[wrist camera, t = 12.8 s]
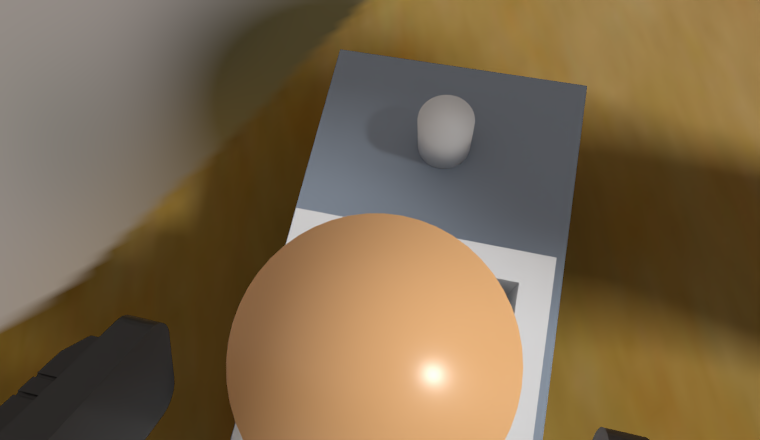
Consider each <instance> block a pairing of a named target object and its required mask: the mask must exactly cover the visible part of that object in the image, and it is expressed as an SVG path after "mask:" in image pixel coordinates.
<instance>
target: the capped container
mask: <svg viewBox="0 0 760 440" xmlns="http://www.w3.org/2000/svg"><path fill="white" fill-rule="evenodd" d="M522 377H523V354H522V344H521V338H520V333H519V328H518V324H517V321H516V318H515V315H514V312H513V309H512V306H511V304H510V302H509V300H508V298H507V296H506V294H505V292H504V290H503V288H502V286H501V285H500V283H499V282H498V280H497V279H496V277H495V275H494V274H493V273H492V271H491V270H490V269H489V268H488V267H487V265H486V264H485V263H484V262H483V261H482V259H481V258H480V257H478V256H477V255H476V254H475V253H474V252H473V251H472V250H471V249H470V248H469V247H468V246H466V245H465V244H464V243H462V242H461V241H460V240H458V239H457V238H455V237H454V236H453V235H451V234H449V233H447V232H445V231H444V230H442V229H440V228H438V227H436V226H434V225H431V224H428V223H426V222H423V221H421V220H418V219H414V218H410V217H406V216H401V215H393V214H385V213H366V214H358V215H350V216H346V217H342V218H338V219H334V220H330V221H328V222H325V223H323V224H320V225H318V226H315V227H313V228H311V229H309V230H308V231H306V232H304V233H302V234H300V235H298V236H297V237H296V238H294V239H293V240H291V241H290V242H289V243H287V244H286V245H284V246H283V247H282V248H281V249H280V250H279V251H278V252H277V253H276V254H274V255H273V256H272V257H271V258H270V259H269V260H268V261H267V263H266V264H265V265H264V266H263V267H262V268H261V270H260V271H259V272H258V273H257V275H256V276H255V278H254V279H253V281H252V282H251V284H250V285H249V287H248V288H247V290H246V292H245V294H244V296H243V298H242V300H241V302H240V304H239V307H238V309H237V312H236V315H235V318H234V320H233V323H232V327H231V332H230V336H229V340H228V348H227V358H226V381H227V388H228V395H229V402H230V405H231V409H232V412H233V416H234V420H235V422H236V425H237V427H238V429H239V432H240V434H241V436H242V439H243V440H505V438H506V436H507V434H508V433H509V431H510V429H511V426H512V423H513V420H514V417H515V414H516V411H517V408H518V404H519V399H520V394H521V389H522Z"/></svg>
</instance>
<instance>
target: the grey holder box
mask: <svg viewBox="0 0 760 440" xmlns="http://www.w3.org/2000/svg"><path fill="white" fill-rule="evenodd" d="M586 90H587V86H584V85H577V84H570V83H563V82H557V81H550V80H543V79H536V78H530V77H523V76H516V75H509V74H503V73H496V72H489V71H482V70H476V69H469V68H462V67H455V66H449V65H442V64H435V63H428V62H422V61H415V60H408V59H401V58H395V57H388V56H381V55H374V54H368V53H361V52H354V51H347V50H341V49H340V52H339V56H338V59H337V63H336V66H335V70H334V74H333V77H332V81H331V84H330V88H329V91H328V95H327V98H326V102H325V106H324V109H323V113H322V116H321V120H320V123H319V127H318V130H317V134H316V137H315V141H314V145H313V148H312V152H311V155H310V159H309V162H308V166H307V169H306V173H305V177H304V180H303V184H302V187H301V191H300V194H299V198H298V201H297V205H296V209H295V212H294V216H293V219H292V223H291V226H290V230H289V233H288V237H287V241H286V244H287V243H289V242H290V241H291V240H293V239H294V238H296V237H297V236H298V235H300V234H302V233H304V232H306V231H308V230H309V229H311V228H313V227H315V226H318V225H320V224H323V223H325V222H328V221H330V220H334V219H338V218H342V217H346V216H350V215H358V214H366V213H385V214H393V215H401V216H406V217H410V218H414V219H418V220H421V221H423V222H426V223H428V224H431V225H434V226H436V227H438V228H440V229H442V230H444V231H445V232H447V233H449V234H451V235H453V236H454V237H455V238H457V239H458V240H460V241H461V242H462V243H464V244H465V245H466V246H468V247H469V248H470V249H471V250H472V251H473V252H474V253H475V254H476V255H477V256H478V257H480V258H481V259H482V261H483V262H484V263H485V264H486V265H487V267H488V268H489V269H490V270H491V271H492V273H493V274H494V275H495V277H496V279H497V280H498V282H499V283H500V285H501V286H502V288H503V290H504V292H505V294H506V296H507V298H508V300H509V302H510V304H511V306H512V309H513V312H514V315H515V318H516V321H517V324H518V328H519V333H520V338H521V344H522V354H523V377H522V389H521V394H520V399H519V404H518V408H517V411H516V414H515V417H514V420H513V423H512V426H511V429H510V431H509V433H508V434H507V436H506V438H505V440H543V432H544V424H545V416H546V408H547V400H548V392H549V384H550V376H551V369H552V361H553V353H554V345H555V337H556V329H557V321H558V313H559V305H560V297H561V289H562V281H563V273H564V265H565V257H566V249H567V241H568V233H569V225H570V217H571V209H572V201H573V193H574V185H575V178H576V170H577V162H578V154H579V146H580V138H581V130H582V122H583V114H584V106H585V98H586ZM286 244H285V245H286ZM230 440H243V439H242V436H241V434H240V432H239V429H238V427H237V425H236V422H235V425H234V429H233V432H232V436H231V439H230Z"/></svg>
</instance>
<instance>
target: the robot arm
mask: <svg viewBox="0 0 760 440" xmlns="http://www.w3.org/2000/svg"><path fill="white" fill-rule="evenodd" d="M173 390H174V373H173V364H172V355H171V346H170V337H169V330H168V327H167V326H166V324H164V323H160V322H156V321H152V320H147V319H143V318H139V317H135V316H130V315H125V316H122V317H120V318H119V319H118V320H117V321H115V322H114V323H113V324H112V325H111V326H110V327H109V328H108V329H107V330H106V331H105V332H104V333H103V334H102V335H101V336H100V337H95V336H89V337H87V338H85V339H83V340H81V341H79V342H77V343H76V344H74V345H72V346H70V347H68V348H66V349H64V350H62V351H61V352H60V353H58V354H57V355H56V356H55V357H54V358H53V359H52V360H51V361H50V362H49V363H47V364H46V365H45V366H44V367H43V368H42V369H41V370H40V371H39V372H38V374H37V376H36V377H32V378H31V379H30V380H29V381H28V382H27V383H25V384H24V385H23V386H22V387H21V388H20V389H19V390H18V393H17V395H12V396H11V397H10V398H9V399H8V400H7V401H6V402H5V403H3V404H2V405H1V406H0V440H145V439H146V438H147V436H148V435H149V434H150V432H151V431H152V429H153V428H154V427H155V425H156V424H157V423H158V421H159V420H160V419H161V417H162V416H163V414H164V413H165V411H166V409H167V407H168V405H169V403H170V401H171V398H172V394H173ZM593 440H649V439H648V438H646V437H642V436H637V435H633V434H629V433H625V432H620V431H616V430H612V429H607V428H603V427H600V428H599V429H598V430H597V431H596V433H595V435H594V438H593Z"/></svg>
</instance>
